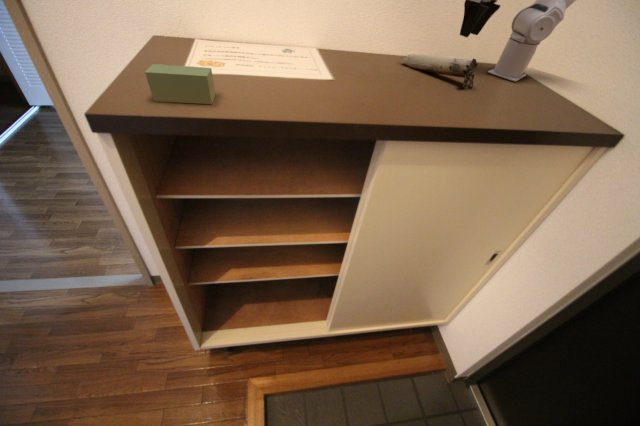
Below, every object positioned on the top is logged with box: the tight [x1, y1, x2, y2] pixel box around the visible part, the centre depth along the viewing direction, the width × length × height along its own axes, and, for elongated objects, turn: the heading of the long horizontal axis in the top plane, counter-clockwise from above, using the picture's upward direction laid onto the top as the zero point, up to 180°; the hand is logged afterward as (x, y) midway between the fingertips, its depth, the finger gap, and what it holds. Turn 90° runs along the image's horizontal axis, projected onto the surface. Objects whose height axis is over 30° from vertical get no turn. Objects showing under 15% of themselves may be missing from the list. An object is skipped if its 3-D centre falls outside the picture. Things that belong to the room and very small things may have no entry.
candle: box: [400, 53, 478, 90], centre depth 74 cm, size 6×20×6 cm, turn 36°
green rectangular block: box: [144, 63, 216, 105], centre depth 51 cm, size 4×10×5 cm, turn 95°
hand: (468, 35), depth 75 cm, fingers open, 7 cm apart
